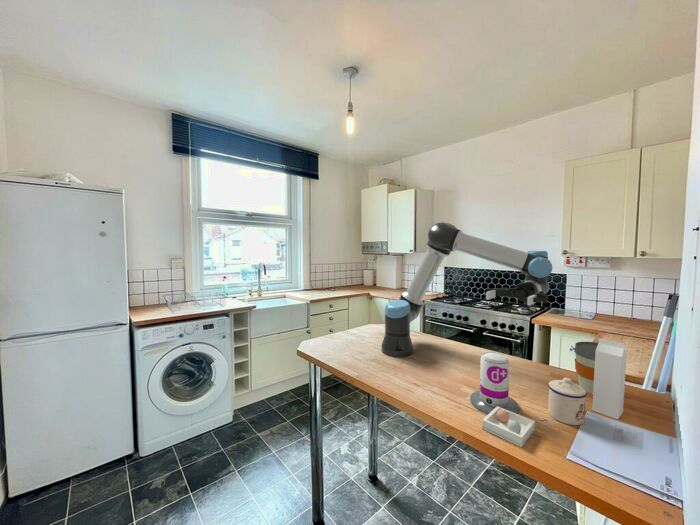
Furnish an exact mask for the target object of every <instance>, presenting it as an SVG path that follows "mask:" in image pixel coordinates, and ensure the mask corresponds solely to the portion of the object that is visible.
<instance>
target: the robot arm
mask: <svg viewBox="0 0 700 525" xmlns="http://www.w3.org/2000/svg"><path fill="white" fill-rule="evenodd" d="M427 232H428V234H427V239H428V240H427V243H426V248H427V250H426V252H425V254H424V256H423V258H422V260H421V262H420V263H419V266H418V268H417V270H416V271H415V273H414V276H413V278H412V280H411V282H410V284H409V286H408V288H407V290H406V291H403V292H402V293H401V294H400V297H399V299H394V300H390V301H388V302H386V304H384V305H385V306H384V307H385V308H384V337H383V340H382V344H381V352H382V353H383V354H385V355H387V356H390V357H397V358H398V357H400V358H402V357H407V356H411V355H412V354H414V352H415V351H414V349H415V348H414V345H413V340H412V338H411V323H412V322H413V321H414V320H416V319H417V318H418V317H419V315H420V313H421V309H422V306H423V305H424V300H423V298H424V296H425V295H426V292H427V291H428V289H429V287H430V285H431V283H432V281H433V280H434V277H435V276H436V274H437V271H439V270H438V269H439V268H440V266H441V265H442V262H443V260H444V258H445V257H449V255H450V254H451V252H456V251H457V252H461V253H464V254H466V255H467V254H468V255H469V256H473V257H476V258H479V259H482V260H485V261H488V262H491V263H494V264H497V265H500V266H503V267H506V268H510V269H512V270H516V271H520V272H521V273H524V274H525V280H524V281H522V282H519V283H518V284H517V285H516V286H515V287H507V286H506V287H498V288H487V289H486V292H485V300H486V301H487V300H491V299H494V298H496V297H508V298H516V299H518V300H519V301H520V302H521V301H522V302H524V303H525V302H526V305H527V306H529V307H530V306H532V305H534V304H536V303H537V304H540V303H541V302H542V303H543V304H548V299H549V298H548V295H547V293H548V292H549V291H550V284H549V282H548V276H550V274H551V273H553V264H552V262H551V260H550V259H549V254H548V251H546V250H528V251H527V252H526V251H523V250H519V249H517V248H513V247H509V246H506V245H502V244H500V243H496V242H493V241H489V240H486V239H483V238H480V237H476V236H473V235H469V234H466V233H464V232H463V230H461V229H458V228H457V227H456V226H455V225H453V224H452V223H449V222H442V221H441V222H437V223H434V224H433V225H432V226H431V227H430V228H429V229H428V231H427Z"/></svg>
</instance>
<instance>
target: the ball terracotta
mask: <svg viewBox="0 0 700 525" xmlns="http://www.w3.org/2000/svg"><path fill="white" fill-rule="evenodd" d="M497 417H498V419H499V420H500V421H502V422H507V421H508V420H509V414H508V412H507V411H505V410H499V411H498V412H497Z"/></svg>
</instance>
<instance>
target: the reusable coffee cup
mask: <svg viewBox="0 0 700 525" xmlns="http://www.w3.org/2000/svg"><path fill="white" fill-rule="evenodd" d="M598 343H599V342H595V341H577V342H576V343H575V345H574V349H573V350H574V354H575V358H574V364H575V366H574V367H575V373H576V374H577V377H578V378H577V379H578V385H579V386H581V387H582V388H584V389H585V391H586V393H588V392H589V393H588V394H592V395H593V389H594V371H595V352H596V348H597V346H598Z"/></svg>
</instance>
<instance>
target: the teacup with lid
mask: <svg viewBox="0 0 700 525" xmlns="http://www.w3.org/2000/svg"><path fill="white" fill-rule="evenodd" d="M547 386H548V407H547V408H548V410H547V412H548V414H549V415H550V416H551V417H552V418H553V419H555V420H556V421H558V422H560V423H563V424H566V425H570V426H580V425H583V424H584V423H585V416H586V414H585V412H586V397H587V395H588V394H587V393H588V392H586V391H585V389H584V388H582V387H581V386H579V384H577V383H574V382H573V380H572V379H571V378H569V377H563V379H553V380H550V381H549V383H548V385H547Z"/></svg>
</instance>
